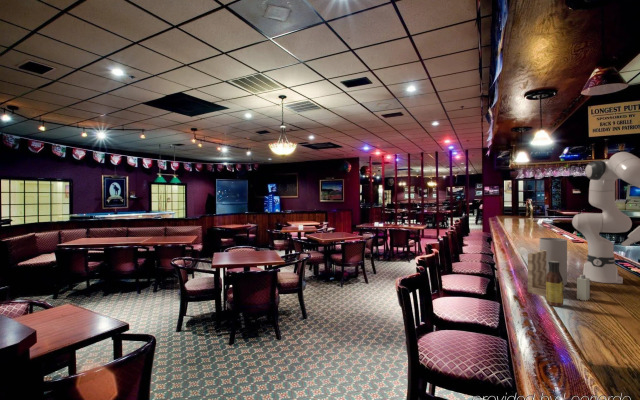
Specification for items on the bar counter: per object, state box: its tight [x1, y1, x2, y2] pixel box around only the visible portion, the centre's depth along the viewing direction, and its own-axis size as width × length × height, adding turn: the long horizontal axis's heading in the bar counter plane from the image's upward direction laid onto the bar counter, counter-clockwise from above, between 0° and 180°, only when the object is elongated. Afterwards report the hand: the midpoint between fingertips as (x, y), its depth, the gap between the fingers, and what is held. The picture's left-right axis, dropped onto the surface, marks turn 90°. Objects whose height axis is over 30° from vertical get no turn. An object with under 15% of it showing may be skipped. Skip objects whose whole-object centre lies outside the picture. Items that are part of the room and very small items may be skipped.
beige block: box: [576, 274, 591, 302], centre depth 150 cm, size 5×4×12 cm
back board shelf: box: [527, 249, 565, 297], centre depth 162 cm, size 18×10×20 cm, turn 125°
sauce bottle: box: [545, 261, 564, 307], centre depth 143 cm, size 7×6×20 cm
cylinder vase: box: [539, 237, 568, 286], centre depth 177 cm, size 12×12×25 cm
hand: (625, 244), depth 140 cm, fingers open, 8 cm apart
